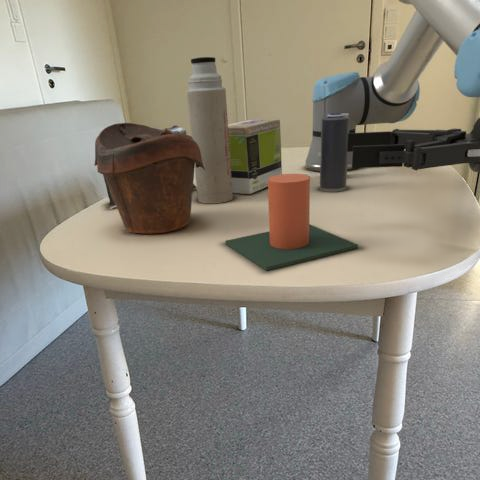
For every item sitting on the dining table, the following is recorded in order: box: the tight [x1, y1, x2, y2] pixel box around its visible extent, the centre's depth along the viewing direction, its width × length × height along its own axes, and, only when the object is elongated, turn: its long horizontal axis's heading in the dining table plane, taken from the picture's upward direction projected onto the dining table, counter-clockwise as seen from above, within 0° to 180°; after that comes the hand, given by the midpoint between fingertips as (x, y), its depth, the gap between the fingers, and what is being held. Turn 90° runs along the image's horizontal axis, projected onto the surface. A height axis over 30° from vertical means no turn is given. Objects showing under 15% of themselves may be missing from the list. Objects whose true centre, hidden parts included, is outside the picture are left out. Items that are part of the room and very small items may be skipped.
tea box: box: [228, 119, 283, 195], centre depth 107 cm, size 15×10×15 cm, turn 145°
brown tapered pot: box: [93, 122, 206, 235], centre depth 82 cm, size 18×20×18 cm
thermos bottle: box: [186, 56, 234, 204], centre depth 95 cm, size 8×8×28 cm
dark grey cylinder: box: [318, 117, 350, 193], centre depth 100 cm, size 6×6×15 cm
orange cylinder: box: [267, 173, 311, 249], centre depth 68 cm, size 6×6×10 cm
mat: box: [225, 223, 359, 272], centre depth 71 cm, size 16×14×1 cm
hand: (349, 149), depth 66 cm, fingers open, 13 cm apart
